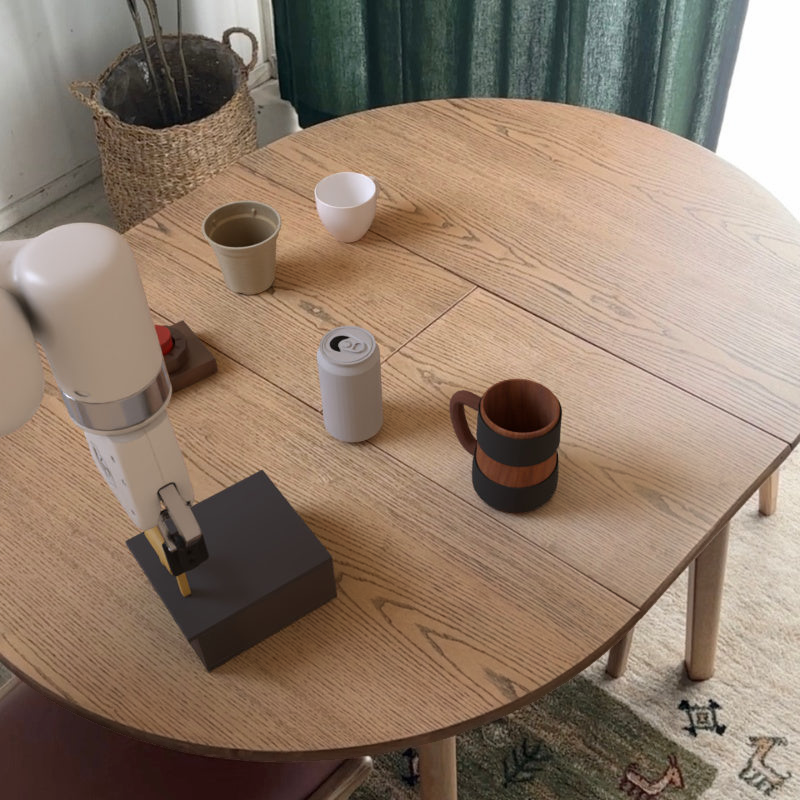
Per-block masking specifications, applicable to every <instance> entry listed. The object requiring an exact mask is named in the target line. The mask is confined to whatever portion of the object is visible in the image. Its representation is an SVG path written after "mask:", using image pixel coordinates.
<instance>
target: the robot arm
mask: <svg viewBox="0 0 800 800" xmlns="http://www.w3.org/2000/svg"><path fill="white" fill-rule="evenodd" d="M140 273H141V272H140V270H139V266H138V262H137V259H136V257H135V254H134V252H133V248H132V247H131V244H129V242H128V241H127V240H126V239H125V237H124V236H123V235H122V234H121V233H119V232H118V231H117V230H115V229H113V228H111V227H109V226H107V225H104V224H101V223H94V222H71V223H66V224H62V225H58V226H56V227H53V228H51V229H49V230H46V231H45V232H42V233H41V234H39V235H38V236H35V237H31V238H22V239H13V240H2V241H0V439H2V438H5V437H7V436H9V435H11V434H12V435H13V434H14V433H16V432H17V431H19V430H20V429H22V428H23V427H25V426H26V425H27V424H28V423H29V422H30V421H31V420H32V419H33V418H34V417H35V415H36V413H37V412H38V411H39V409H40V407H41V405H42V402H43V399H44V394H45V387H46V378H45V377H46V376H45V371H44V367H43V362H42V358H41V354H40V351H39V348H38V344H40V346H41V348H42V350H43V353H44V355H45V358H46V360H47V362H48V365H49V369H50V370H51V372H52V373H51V374H52V375H53V378H54V381H55V382H56V385H57V387H58V390H59V393H60V395H61V398H62V399H63V402H64V405H65V407H66V410H67V414H68V416H69V418H70V420H71V421H72V423H73V424H74V425H75V426H76V427H78V428H79V429H80V430H82V431H83V433H84V437H85V440H86V443H87V446H88V449H89V452H90V454H91V457H92V460H93V463H94V464H95V467H96V468H97V470H98V471H99V474H100V475H101V476H102V478H103V480H104V481H105V483H106V484H107V486H108V488H109V489H110V491H111V492H112V493H113V495H114V497H115V498H116V500H117V501H118V503H119V504H120V506H121V507H122V509H123V510H124V511H125V513H126V514H127V516H128V518H129V519H130V520H131V522H132V523H133V524H134V526H135V527H136V528H137V529H139V530H140V531H143V532H144V531H147V530H149V529H151V528H154V527H156V526H157V528H158V530H159V532H160V534H161V536H162V538H163V540H164V543H163V544H162V548H163V551H164V553H165V556H166V559H167V562H168V565H169V568H170V571H171V572H172V574H173V575H174V576H175V577H176V576H179V575H181V574H183V573H184V572H186V571H190V570H192V569H194V568H196V567H198V566H199V565H200V564H201V563H202V562H204V561H206V560H207V559H208V558H209V554H208V551H207V547H206V544H205V541H204V537H203V533H202V530H201V528H200V527H199V525H198V523H197V521H196V519H195V517H194V515H193V513H192V511H191V509H190V507H192V506H193V505H194V503H195V492H194V487H193V483H192V480H191V476H190V473H189V470H188V467H187V463H186V461H185V457H184V455H183V452H182V449H181V446H180V443H179V441H178V438H177V435H176V430H175V428H174V427H173V425H172V424H173V423H172V421H171V419H170V416H169V414H168V411H167V408H168V405H169V404H170V401H171V398H172V395H173V394H172V386H171V382H170V378H169V375H168V371H167V368H166V364H165V361H164V357H163V354H162V351H161V347H160V343H159V340H158V336H157V333H156V329H155V326H154V325H155V322H154V319H153V315H152V313H151V309H150V306H149V301H148V298H147V294H146V291H145V287H144V284H143V281H142V276H141V274H140ZM37 343H38V344H37ZM161 503H162V504H161ZM162 505H163V506H164V509H162ZM170 517H171V519H172V520H173V522H174V524H175V526H176V528H177V530H178V531H177V532H175V533H173V534H170V532H169V530H168V528H167V526H166V524H165V522H164V521H165V520H167V519H169V518H170Z"/></svg>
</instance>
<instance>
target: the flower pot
mask: <svg viewBox="0 0 800 800" xmlns="http://www.w3.org/2000/svg"><path fill="white" fill-rule="evenodd" d="M282 223H283V222H282V216H281V214H280V213H279V212H278V210H277V209H276V208H274V206H271V205H269V204H267V203H265V202H262V201H259V200H243V199H242V200H235V201H231V202H228V203H225V204H224V203H223V204H222V205H220V206H217V207H216V208H214V209H212V210H211V211H210V212H209V213H208V214H207V215H206V216H205V217H204V219H203V220H202V224H201V233H202V235H203V237H204V239H205V241H207V242H208V244H209V246H210V247H211V249H213V252H214V255H215V258H216V260H217V263H218V266H219V269H220V273H221V274H222V277H223V280H224V283H225V286H226V287H227V288H228V290H230V291H231V292H232V293H233V292H234V293H235V294H239V293H240V294H244V295H247V296H249V295H250V296H252V295H257V294H260V293H262V292H265V291H266V290H268V289H269V288H271V287H272V285H273V283H274V281H275V280H276V264H277V263H276V261H277V240H278V237H279V235H280V234H279V233H280V231H281V230H282V229H281V228H282Z"/></svg>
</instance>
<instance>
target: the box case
mask: <svg viewBox="0 0 800 800" xmlns="http://www.w3.org/2000/svg"><path fill="white" fill-rule="evenodd" d="M334 567H335V566H334V560H332V561H331V562H329V563H327V564H325V565H324V566H322V567H320V568H318V569H317V570H315V571H313V572H312V573H310V574H308V575H306V576H305V577H303V578H301V579H299V580H298V581H296V582H294V583H293V584H291V585H289V586H287V587H286V588H284V589H282V590H280V591H279V592H277V593H275V594H273V595H272V596H270V597H268V598H267V599H265V600H263V601H261V602H260V603H258V604H256V605H254V606H253V607H251V608H249V609H247V610H246V611H244V612H242V613H241V614H239V615H237V616H235V617H234V618H232V619H230V620H228V621H227V622H225V623H223V624H221V625H220V626H218V627H216V628H215V629H213V630H211V631H209V632H208V633H206V634H204V635H202V636H201V637H199V638H197V639H195V640H194V641H192V642H190V643H189V644H190V646H191V648H192V649H193V651H194V652H195V654H196V656H197V657H198V659H199V660H200V662H201V664H202V665H203V667H204V668H205V670H206V671H207V673H211V672H213V671H215V670H216V669H217V668H219V667H221V666H223V665H224V664H226V663H228V662H229V661H231V660H233V659H234V658H236V657H238V656H240V655H241V654H243V653H245V652H246V651H248V650H250V649H251V648H253V647H255V646H256V645H258V644H260V643H261V642H263V641H265V640H266V639H269V638H270V637H272V636H273V635H275V634H276V633H279V632H280V631H282V630H283V629H285V628H287V627H288V626H290V625H292V624H294V623H296V622H297V621H298V620H300V619H302V618H304V617H305V616H307V615H309V614H310V613H312V612H314V611H315V610H317V609H319V608H320V607H323V606H324V605H325V604H327V603H329V602H330V601H331V602H332V600H334V599H335V598H337V597H338V593H337V584H336V575H335V568H334Z"/></svg>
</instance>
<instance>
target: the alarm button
mask: <svg viewBox="0 0 800 800" xmlns="http://www.w3.org/2000/svg"><path fill="white" fill-rule="evenodd" d="M154 326H155V329H156V333H157V336H158V340H159V343H160V347H161V351H162V354H163V356H165V355H167V354H168V353H169V352H170V351H171V350H172V348H173V342H172V338H171V334H170V331H169V329H168V328H166V327H165V326H162V325H161V324H154Z"/></svg>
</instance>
